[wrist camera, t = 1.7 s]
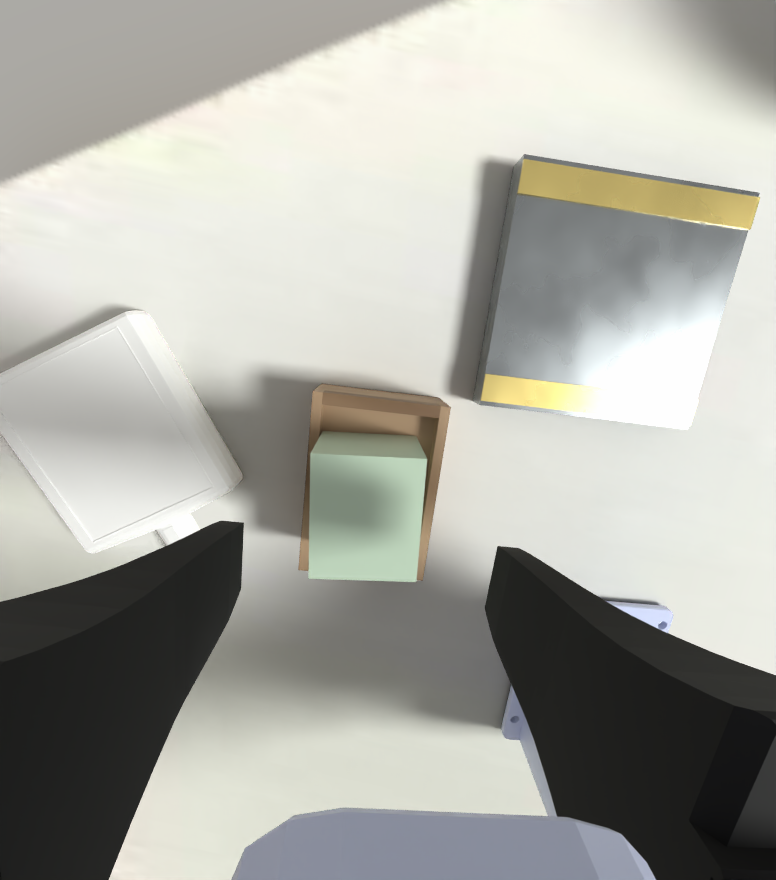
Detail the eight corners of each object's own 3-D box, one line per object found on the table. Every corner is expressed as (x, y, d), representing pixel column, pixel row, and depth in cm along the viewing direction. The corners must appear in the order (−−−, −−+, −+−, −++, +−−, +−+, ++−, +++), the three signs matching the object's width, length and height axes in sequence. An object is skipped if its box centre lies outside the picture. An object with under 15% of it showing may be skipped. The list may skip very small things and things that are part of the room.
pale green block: (407, 537, 18) (416, 581, 15) (320, 534, 18) (308, 579, 15) (416, 435, 17) (427, 459, 14) (322, 431, 17) (310, 453, 13)
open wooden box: (414, 544, 21) (422, 580, 18) (309, 535, 21) (298, 570, 18) (437, 396, 19) (450, 407, 16) (322, 383, 19) (312, 390, 16)
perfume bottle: (128, 307, 16) (271, 550, 19) (154, 311, 18) (280, 531, 21) (-39, 390, 16) (124, 614, 19) (4, 385, 18) (146, 590, 21)
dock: (668, 424, 20) (689, 429, 18) (472, 400, 19) (480, 405, 18) (733, 203, 17) (762, 191, 16) (513, 167, 17) (525, 152, 15)
